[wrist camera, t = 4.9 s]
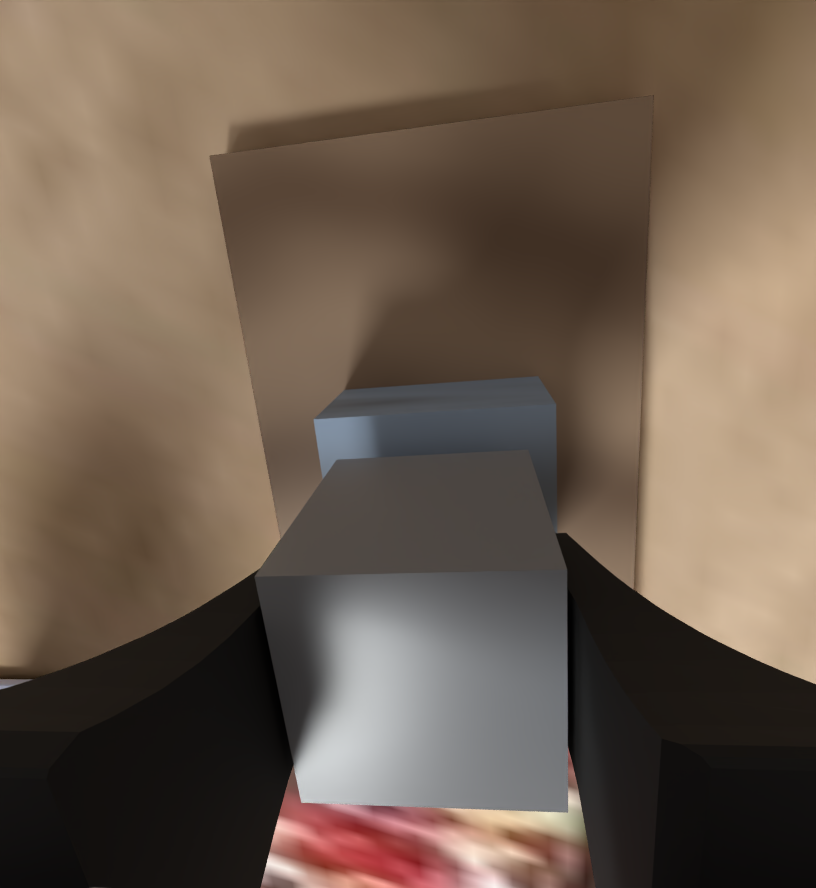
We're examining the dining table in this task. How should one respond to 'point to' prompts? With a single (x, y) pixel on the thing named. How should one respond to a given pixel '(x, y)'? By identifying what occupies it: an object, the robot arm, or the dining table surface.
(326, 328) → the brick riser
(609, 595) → the robot arm
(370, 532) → the gray brick
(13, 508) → the dining table surface
